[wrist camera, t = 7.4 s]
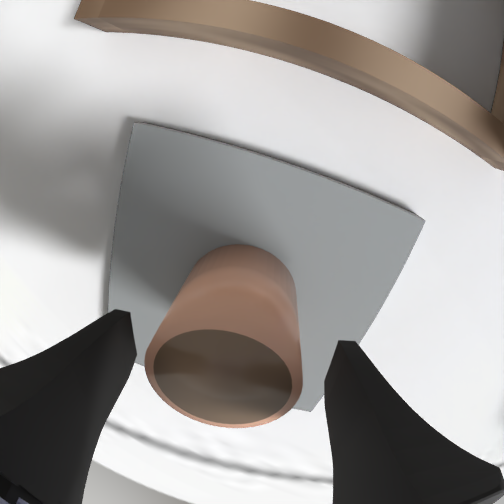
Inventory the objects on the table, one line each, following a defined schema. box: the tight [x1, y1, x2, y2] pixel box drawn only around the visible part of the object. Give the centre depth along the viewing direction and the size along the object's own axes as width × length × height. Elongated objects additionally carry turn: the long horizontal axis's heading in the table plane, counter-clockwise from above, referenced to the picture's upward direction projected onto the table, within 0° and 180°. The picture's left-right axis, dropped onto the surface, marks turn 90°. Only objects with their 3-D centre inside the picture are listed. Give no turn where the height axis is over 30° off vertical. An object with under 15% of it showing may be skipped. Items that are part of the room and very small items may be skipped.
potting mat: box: [108, 122, 425, 412], centre depth 13 cm, size 12×12×1 cm
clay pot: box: [144, 244, 303, 428], centre depth 10 cm, size 5×5×5 cm
